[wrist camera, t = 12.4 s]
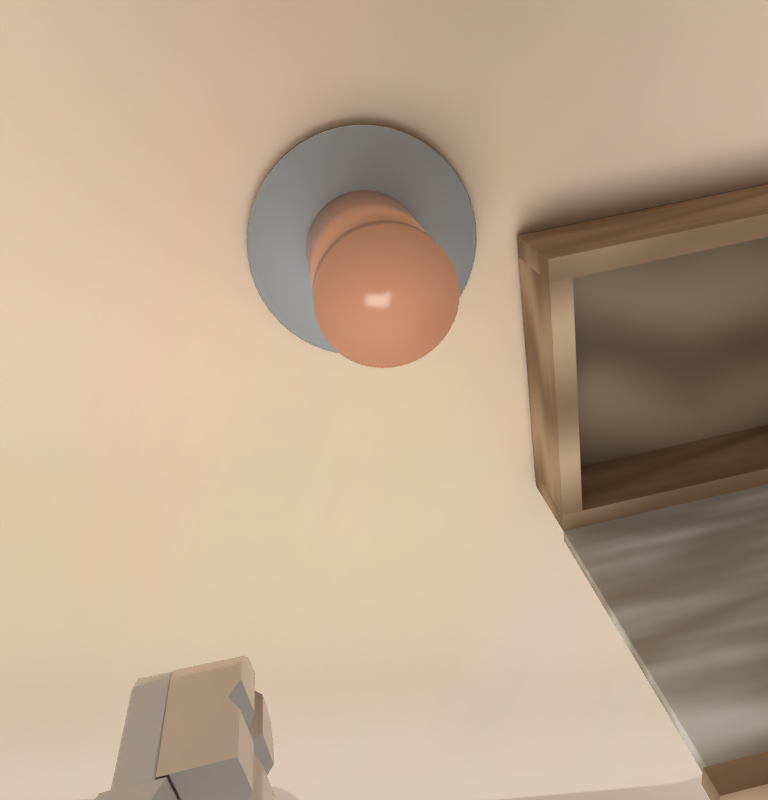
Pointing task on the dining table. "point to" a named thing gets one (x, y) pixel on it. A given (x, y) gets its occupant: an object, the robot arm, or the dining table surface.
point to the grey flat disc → (336, 175)
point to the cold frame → (665, 451)
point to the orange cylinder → (379, 281)
